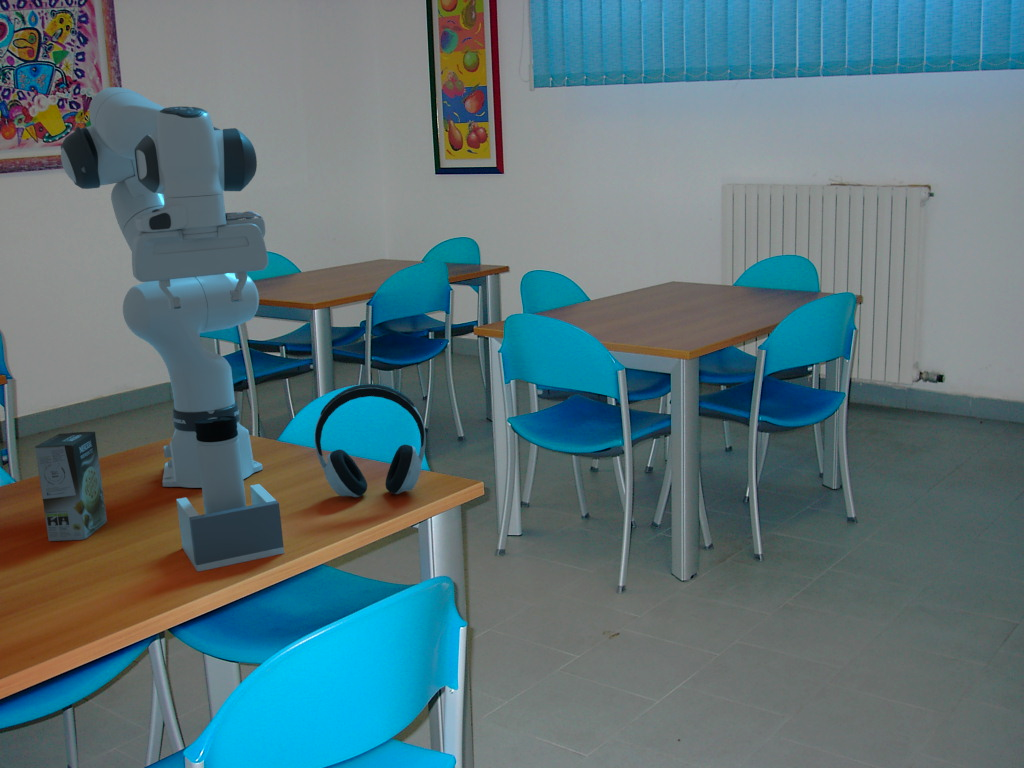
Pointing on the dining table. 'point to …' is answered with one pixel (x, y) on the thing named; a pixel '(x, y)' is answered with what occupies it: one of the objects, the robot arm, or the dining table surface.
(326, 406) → the headphones
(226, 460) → the travel mug
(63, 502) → the coffee box
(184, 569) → the dining table surface
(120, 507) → the dining table surface
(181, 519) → the u-shaped bracket
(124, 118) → the robot arm
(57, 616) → the dining table surface
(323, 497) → the dining table surface
